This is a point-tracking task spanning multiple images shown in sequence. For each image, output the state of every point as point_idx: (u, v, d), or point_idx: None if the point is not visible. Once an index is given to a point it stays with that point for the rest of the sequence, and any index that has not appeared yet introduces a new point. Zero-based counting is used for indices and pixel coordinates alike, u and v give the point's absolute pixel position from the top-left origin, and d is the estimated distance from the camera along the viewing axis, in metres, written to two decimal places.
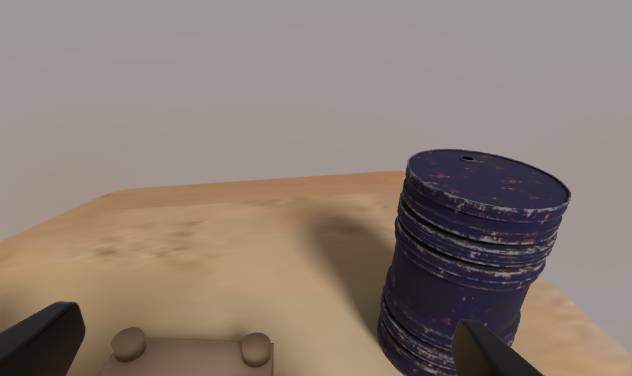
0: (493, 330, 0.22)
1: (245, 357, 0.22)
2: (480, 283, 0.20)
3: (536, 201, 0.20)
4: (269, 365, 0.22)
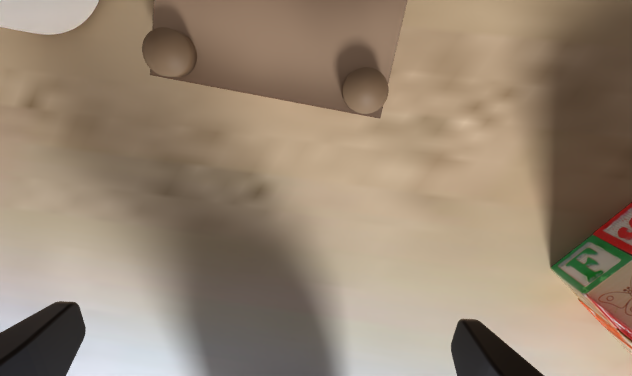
0: None
1: None
2: None
3: None
4: None
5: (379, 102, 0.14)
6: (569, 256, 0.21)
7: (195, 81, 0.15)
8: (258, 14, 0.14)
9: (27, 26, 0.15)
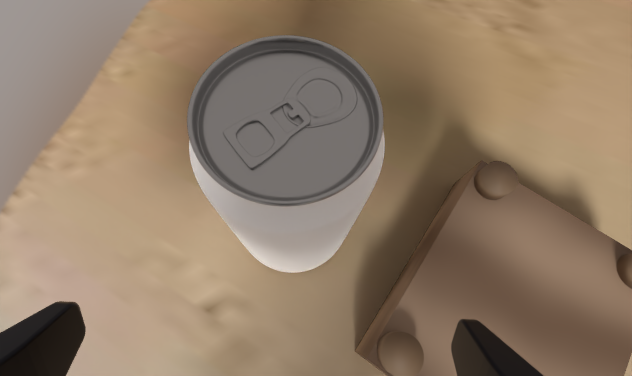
0: None
1: (631, 276, 0.17)
2: None
3: None
4: None
5: None
6: None
7: None
8: None
9: (277, 266, 0.18)
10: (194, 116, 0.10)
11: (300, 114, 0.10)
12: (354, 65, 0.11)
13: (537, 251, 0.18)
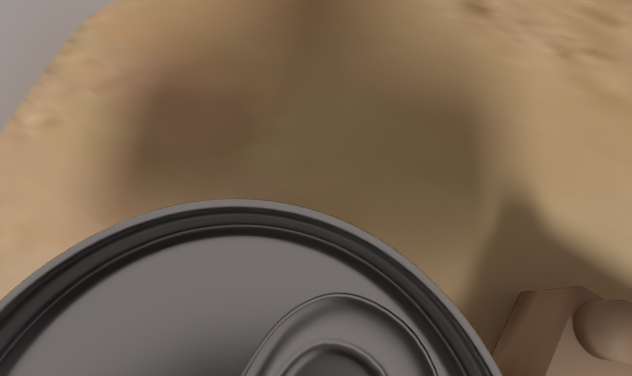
0: None
1: None
2: None
3: None
4: None
5: None
6: None
7: None
8: None
9: None
10: None
11: None
12: (437, 305, 0.03)
13: None
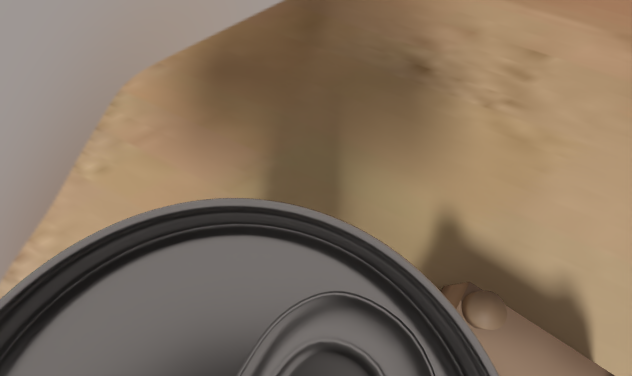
0: None
1: None
2: None
3: None
4: None
5: None
6: None
7: None
8: None
9: None
10: None
11: None
12: (433, 303, 0.04)
13: None
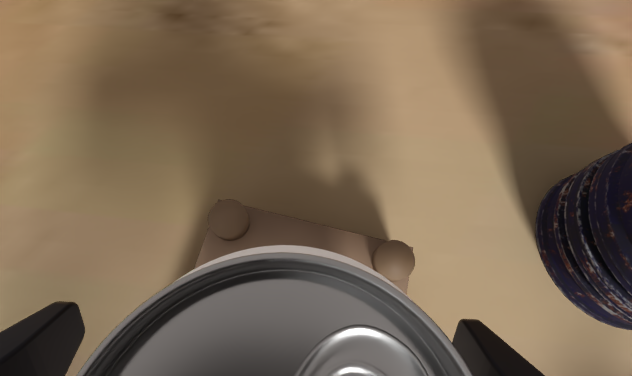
0: None
1: (379, 272, 0.16)
2: None
3: None
4: (406, 282, 0.17)
5: None
6: None
7: None
8: None
9: None
10: None
11: None
12: (433, 336, 0.05)
13: None
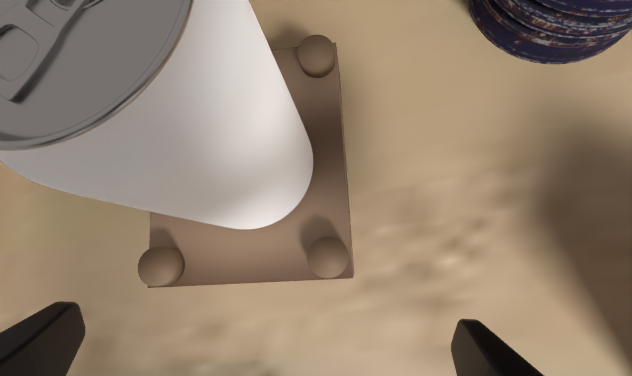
0: None
1: (306, 69, 0.18)
2: None
3: None
4: (336, 72, 0.18)
5: (342, 264, 0.15)
6: None
7: (184, 284, 0.17)
8: None
9: (233, 226, 0.15)
10: None
11: None
12: None
13: None
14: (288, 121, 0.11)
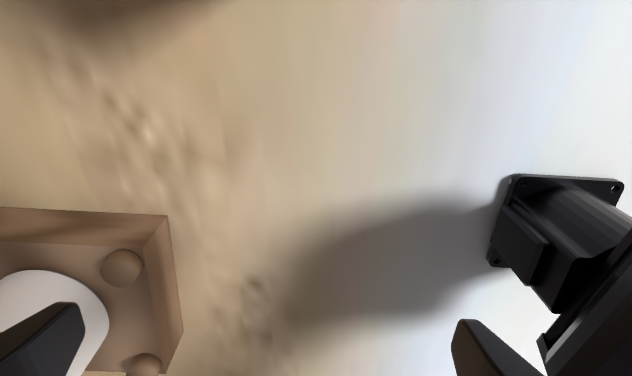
0: None
1: None
2: None
3: None
4: None
5: (121, 264, 0.18)
6: None
7: (160, 353, 0.22)
8: None
9: (87, 347, 0.18)
10: None
11: None
12: None
13: None
14: None
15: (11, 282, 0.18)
